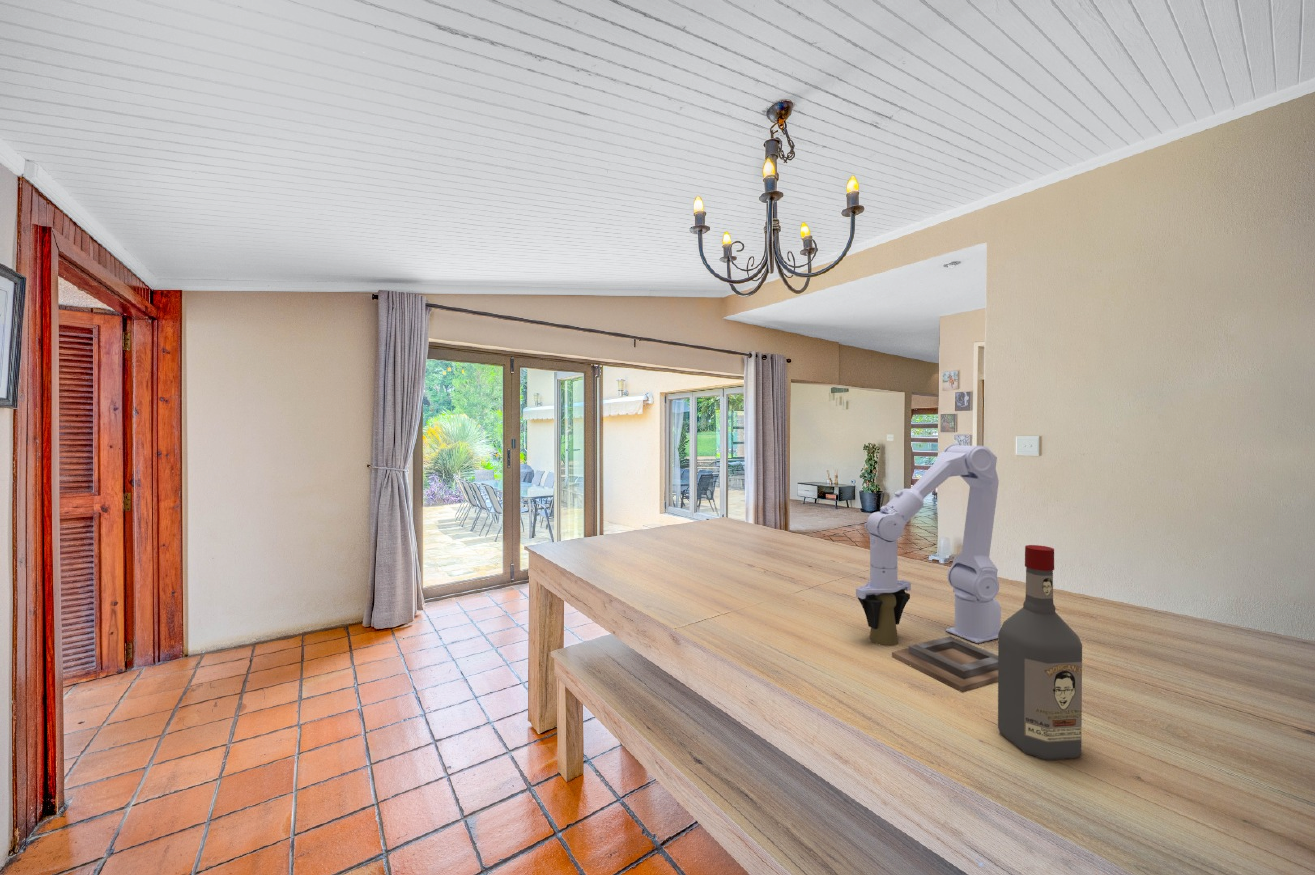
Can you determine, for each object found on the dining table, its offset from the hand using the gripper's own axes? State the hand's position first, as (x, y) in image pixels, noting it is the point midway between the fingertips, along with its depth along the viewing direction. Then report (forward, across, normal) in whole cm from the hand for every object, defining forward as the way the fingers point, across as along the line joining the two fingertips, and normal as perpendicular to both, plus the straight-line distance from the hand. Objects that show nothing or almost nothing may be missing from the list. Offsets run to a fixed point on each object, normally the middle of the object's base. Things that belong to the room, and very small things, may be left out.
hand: (883, 625), depth 118 cm
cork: (+4, 0, 0) cm, 4 cm away
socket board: (+3, -4, +15) cm, 16 cm away
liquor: (+4, +8, +38) cm, 39 cm away
